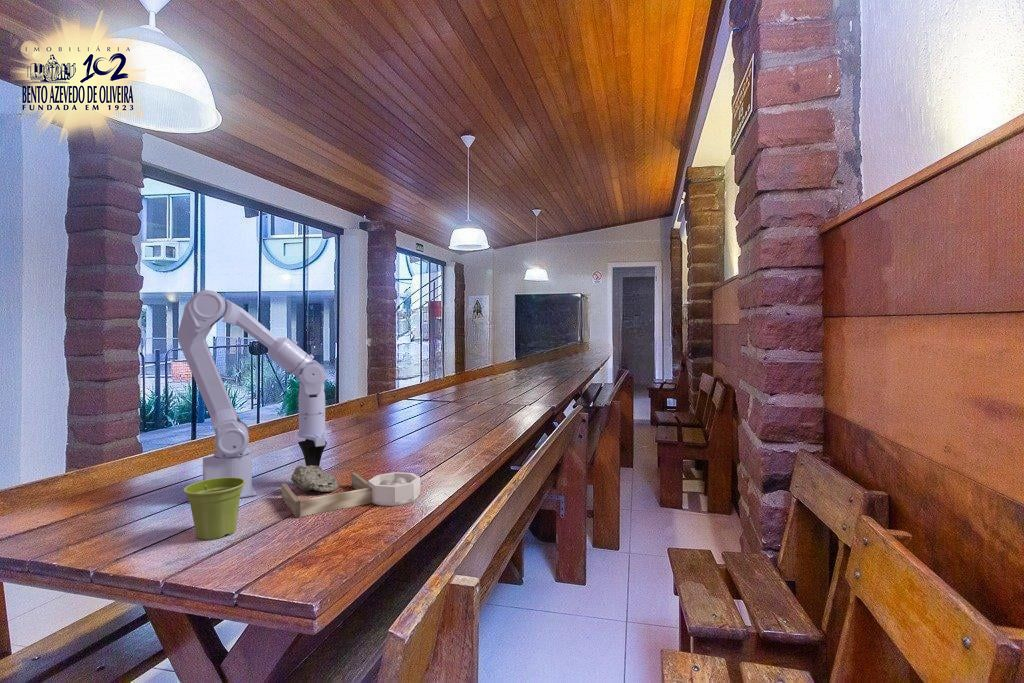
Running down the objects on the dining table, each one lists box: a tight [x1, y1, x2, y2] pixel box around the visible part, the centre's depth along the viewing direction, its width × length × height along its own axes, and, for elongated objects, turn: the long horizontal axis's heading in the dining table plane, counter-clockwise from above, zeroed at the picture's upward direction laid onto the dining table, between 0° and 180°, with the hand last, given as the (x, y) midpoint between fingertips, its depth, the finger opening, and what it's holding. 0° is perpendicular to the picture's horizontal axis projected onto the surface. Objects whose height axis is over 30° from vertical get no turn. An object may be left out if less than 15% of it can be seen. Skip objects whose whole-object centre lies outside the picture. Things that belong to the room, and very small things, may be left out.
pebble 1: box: [379, 480, 392, 485], centre depth 109 cm, size 3×3×3 cm
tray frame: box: [281, 471, 373, 519], centre depth 108 cm, size 16×14×3 cm
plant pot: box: [183, 477, 245, 541], centre depth 90 cm, size 9×9×9 cm
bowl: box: [367, 471, 421, 507], centre depth 109 cm, size 10×10×4 cm
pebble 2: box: [393, 478, 407, 484], centre depth 110 cm, size 3×3×3 cm
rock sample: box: [289, 464, 340, 493], centre depth 114 cm, size 10×8×9 cm
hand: (312, 471), depth 119 cm, fingers closed
